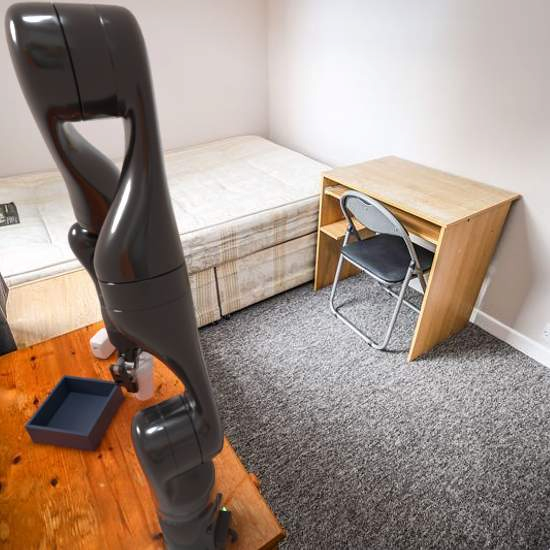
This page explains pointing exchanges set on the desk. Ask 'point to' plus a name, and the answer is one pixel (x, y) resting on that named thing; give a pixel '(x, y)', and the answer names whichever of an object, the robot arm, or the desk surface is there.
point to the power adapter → (101, 344)
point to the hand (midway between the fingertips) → (141, 377)
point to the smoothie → (144, 376)
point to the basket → (75, 413)
